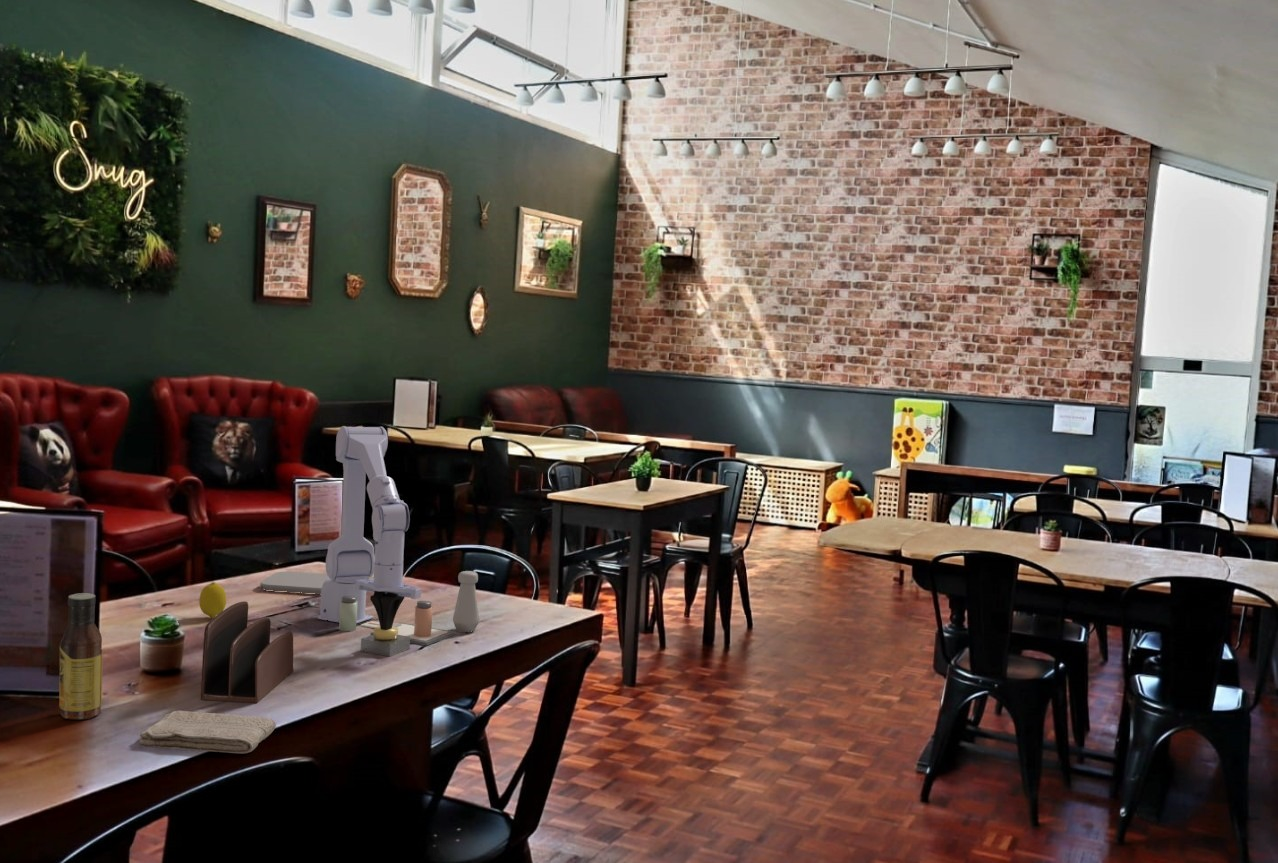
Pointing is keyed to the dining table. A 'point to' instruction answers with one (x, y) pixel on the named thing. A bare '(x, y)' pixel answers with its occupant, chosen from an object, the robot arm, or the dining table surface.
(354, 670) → the dining table surface
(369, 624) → the card
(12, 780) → the dining table surface
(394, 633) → the button
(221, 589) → the lemon
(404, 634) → the clipboard
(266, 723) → the washcloth
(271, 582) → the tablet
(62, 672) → the sauce bottle
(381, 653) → the switch box
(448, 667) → the dining table surface
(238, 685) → the letter holder
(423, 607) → the pepper shaker
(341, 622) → the green spice jar
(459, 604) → the salt shaker
